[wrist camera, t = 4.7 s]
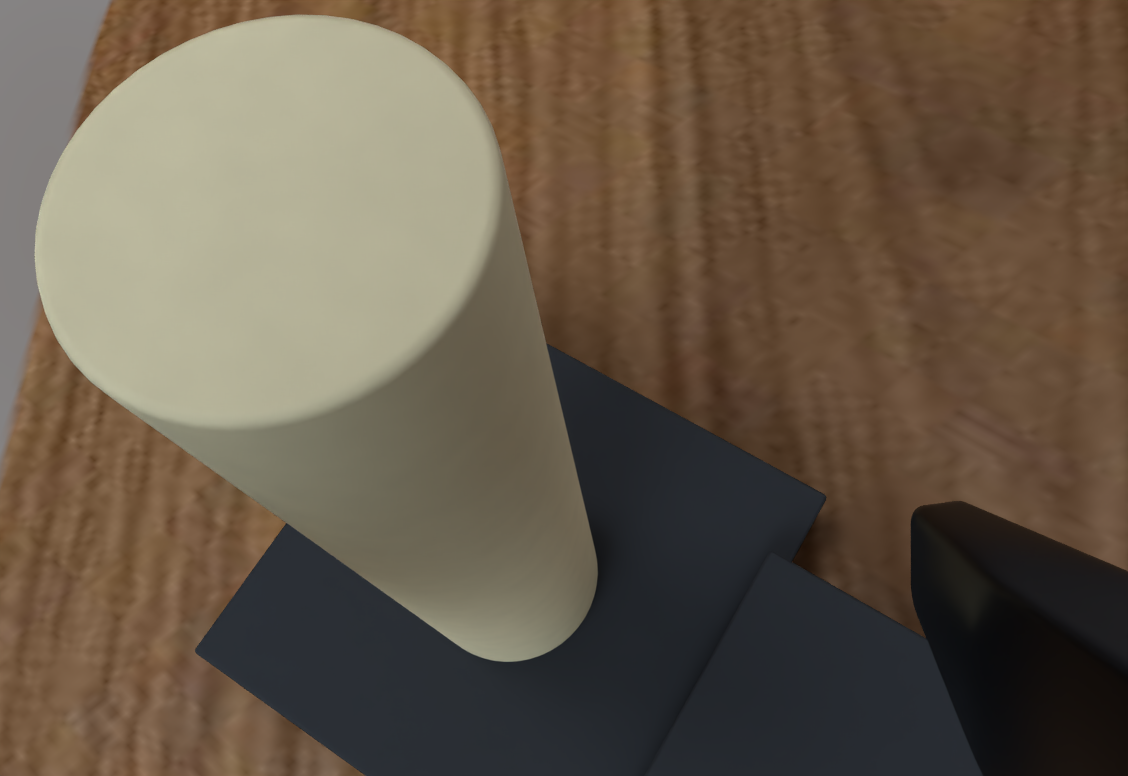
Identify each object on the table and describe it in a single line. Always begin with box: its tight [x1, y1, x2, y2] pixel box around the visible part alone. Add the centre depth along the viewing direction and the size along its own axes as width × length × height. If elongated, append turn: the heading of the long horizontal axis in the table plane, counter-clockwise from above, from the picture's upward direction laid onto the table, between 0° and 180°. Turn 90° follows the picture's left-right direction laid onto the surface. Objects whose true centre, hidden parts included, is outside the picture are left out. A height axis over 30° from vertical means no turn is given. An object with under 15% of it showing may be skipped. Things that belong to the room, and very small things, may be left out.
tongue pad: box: [35, 15, 983, 776], centre depth 12 cm, size 12×8×13 cm, turn 58°
